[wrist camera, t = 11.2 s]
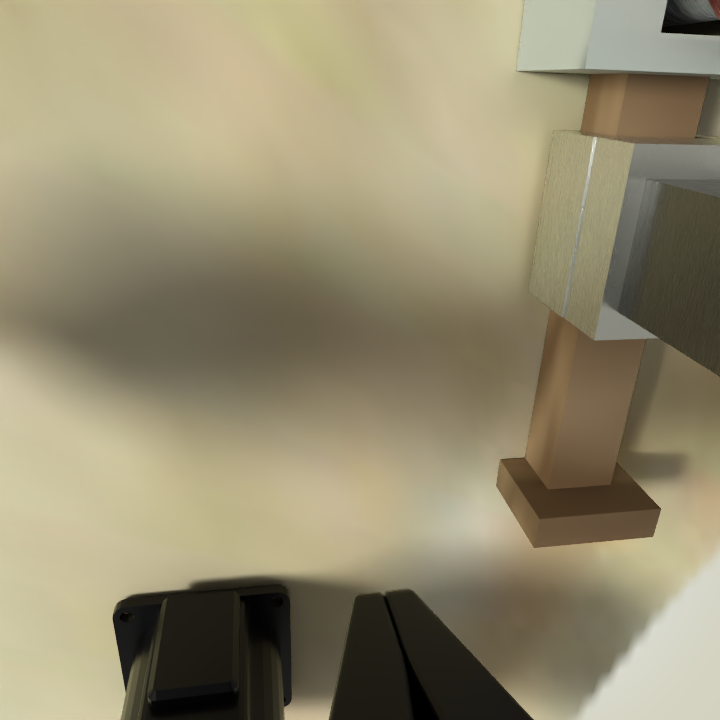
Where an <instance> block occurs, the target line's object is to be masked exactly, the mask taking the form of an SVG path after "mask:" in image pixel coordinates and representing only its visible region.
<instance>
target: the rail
mask: <svg viewBox="0 0 720 720" xmlns="http://www.w3.org/2000/svg"><path fill="white" fill-rule="evenodd" d="M709 78H710V77H702V76H678V75H654V74H631V73H622V74H590V80H589V86H588V92H587V97H586V103H585V109H584V115H583V121H582V127H581V132H586V133H592V134H598V135H605V136H614V137H656V138H695V136H696V132H697V128H698V123H699V119H700V115H701V111H702V107H703V103H704V99H705V95H706V91H707V86H708V82H709ZM645 341H646V339H623V340H593V339H591V338H590V337H589V336H587V335H586V334H585V333H584V332H582V331H581V330H580V329H578V328H577V327H576V326H574V325H573V324H572V323H570V322H569V321H568V320H566V319H565V318H564V317H561V316H559V315H558V314H557V313H555V312H554V311H553V310H551V309H550V315H549V321H548V327H547V332H546V338H545V344H544V350H543V356H542V362H541V368H540V374H539V379H538V385H537V391H536V397H535V403H534V409H533V415H532V421H531V426H530V432H529V438H528V444H527V450H526V456H525V458H519V459H504V460H500V465H499V471H498V478H497V485H496V486H497V488H498V489H499V491H500V493H501V494H502V496H503V498H504V499H505V501H506V503H507V504H508V506H509V508H510V509H511V511H512V512H513V514H514V516H515V517H516V519H517V521H518V522H519V524H520V526H521V527H522V529H523V530H524V532H525V534H526V535H527V537H528V539H529V540H530V542H531V544H532V545H533V547H534V548H538V547H548V546H559V545H570V544H581V543H592V542H603V541H613V540H624V539H635V538H646V537H653V535H654V532H655V528H656V525H657V521H658V518H659V515H660V511H661V508H660V507H659V506H658V505H657V504H656V503H655V502H654V501H653V500H652V499H651V498H650V497H649V496H648V495H647V494H646V493H645V492H644V490H643V489H642V488H641V487H640V486H639V485H638V484H637V483H636V482H635V481H634V480H633V479H632V478H631V477H630V476H629V475H628V474H627V473H626V472H625V471H624V470H623V469H622V468H621V467H620V466H619V464H618V463H617V462H616V461H617V457H618V452H619V448H620V444H621V440H622V436H623V432H624V428H625V424H626V420H627V415H628V411H629V407H630V403H631V399H632V395H633V391H634V387H635V383H636V378H637V374H638V370H639V366H640V362H641V358H642V354H643V350H644V346H645Z"/></svg>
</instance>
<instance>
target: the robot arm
mask: <svg viewBox="0 0 720 720" xmlns="http://www.w3.org/2000/svg"><path fill="white" fill-rule="evenodd" d="M276 597H280V599H273V598H276ZM125 612H130V613H131V614H125ZM113 623H114V629H115V635H116V640H117V646H118V651H119V657H120V662H121V668H122V674H123V679H124V685H125V690H126V696H125V701H124V706H123V711H122V716H121V720H285V718H284V707H285V706H287V705H289V703H290V702H291V699H292V689H291V634H290V596H289V590H288V589H287V588H286V587H285V586H282V585H268V586H257V587H247V588H236V589H226V590H215V591H205V592H194V593H184V594H173V595H163V596H153V597H142V598H132V599H125V600H121V601H120V602H118V603H117V605H116V606H115V609H114V613H113ZM329 720H533V719H532V718H531V717H530V715H529V714H528V713H527V712H526V711H525V710H524V709H523V708H522V707H521V706H520V705H519V704H518V703H517V702H516V700H515V699H514V698H513V697H512V696H511V695H510V694H509V693H508V692H507V691H506V690H505V689H504V688H503V687H502V686H501V684H500V683H499V682H498V681H497V680H496V679H495V678H494V677H493V676H492V675H491V674H490V673H489V672H488V671H487V669H486V668H485V667H484V666H483V665H482V664H481V663H480V662H479V661H478V660H477V659H476V658H475V657H474V656H473V654H472V653H471V652H470V651H469V650H468V649H467V648H466V647H465V646H464V645H463V644H462V643H461V642H460V641H459V639H458V638H457V637H456V636H455V635H454V634H453V633H452V632H451V631H450V630H449V629H448V628H447V627H446V626H445V624H444V623H443V622H442V621H441V620H440V619H439V618H438V617H437V616H436V615H435V614H434V613H433V612H432V611H431V610H430V608H429V607H428V606H427V605H426V604H425V603H424V602H423V601H422V600H421V599H420V598H419V597H418V596H417V595H416V593H415V592H413V591H412V590H410V589H401V590H391V591H386V592H385V593H384V594H382V593H380V592H371V593H361V594H357V595H355V597H354V600H353V605H352V609H351V614H350V619H349V624H348V629H347V634H346V639H345V643H344V648H343V653H342V658H341V663H340V668H339V673H338V677H337V682H336V687H335V692H334V697H333V702H332V707H331V711H330V716H329Z"/></svg>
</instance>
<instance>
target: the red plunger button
mask: <svg viewBox="0 0 720 720" xmlns="http://www.w3.org/2000/svg"><path fill="white" fill-rule="evenodd" d="M713 20H720V0H667V5H666V10H665V15H664V19H663V24H662V27H666V26H674V25H682V24H690V23H698V22H706V21H713Z"/></svg>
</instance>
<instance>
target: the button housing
mask: <svg viewBox="0 0 720 720" xmlns="http://www.w3.org/2000/svg"><path fill="white" fill-rule="evenodd" d="M666 5H667V0H525V5H524V13H523V21H522V29H521V37H520V45H519V53H518V61H517V69H516V71H530V72H554V73H578V74H622V73H631V74H654V75H678V76H702V77H710V78H709V79H720V36H711V35H693V34H674V33H661V29H662V24H663V19H664V15H665V10H666Z"/></svg>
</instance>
